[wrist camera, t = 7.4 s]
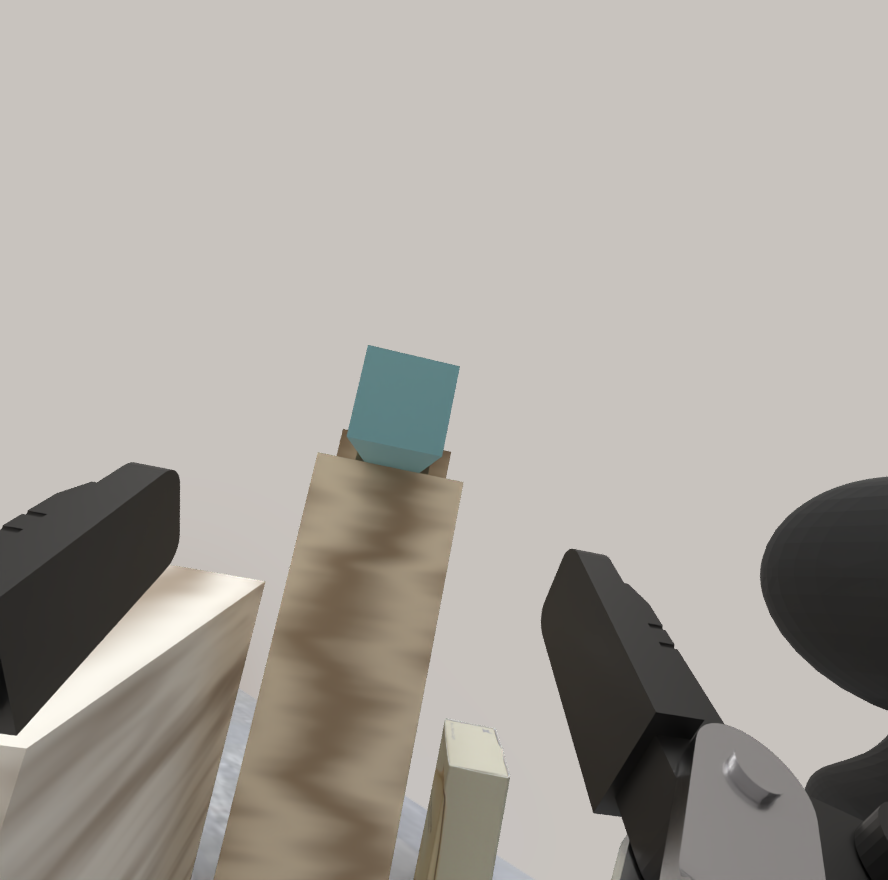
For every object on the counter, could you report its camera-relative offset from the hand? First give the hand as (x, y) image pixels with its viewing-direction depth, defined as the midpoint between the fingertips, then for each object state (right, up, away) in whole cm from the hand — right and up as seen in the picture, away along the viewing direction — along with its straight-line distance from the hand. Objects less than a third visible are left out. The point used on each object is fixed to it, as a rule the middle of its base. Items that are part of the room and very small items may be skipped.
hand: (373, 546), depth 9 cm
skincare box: (+1, -32, +20) cm, 38 cm away
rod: (-2, 0, +17) cm, 17 cm away
